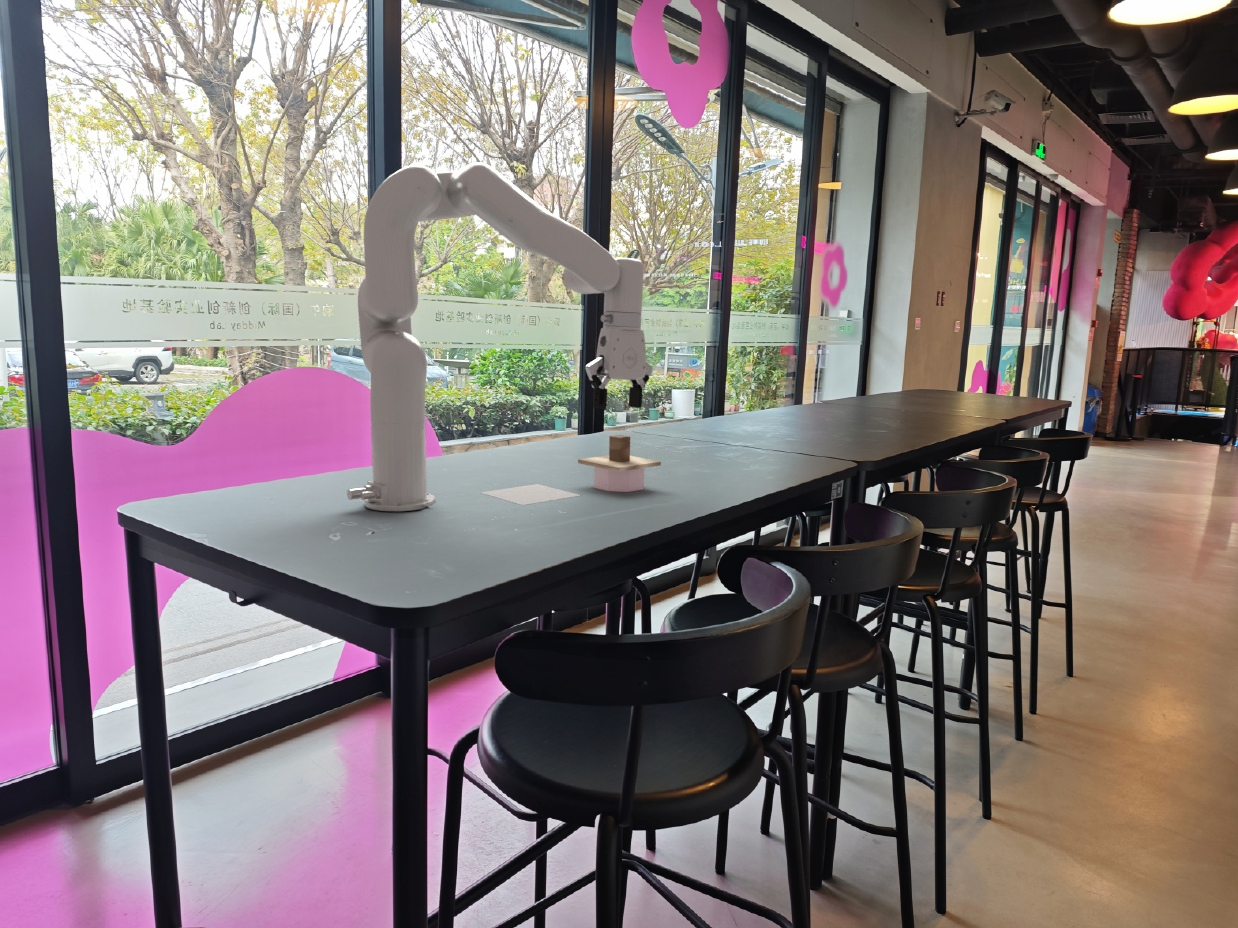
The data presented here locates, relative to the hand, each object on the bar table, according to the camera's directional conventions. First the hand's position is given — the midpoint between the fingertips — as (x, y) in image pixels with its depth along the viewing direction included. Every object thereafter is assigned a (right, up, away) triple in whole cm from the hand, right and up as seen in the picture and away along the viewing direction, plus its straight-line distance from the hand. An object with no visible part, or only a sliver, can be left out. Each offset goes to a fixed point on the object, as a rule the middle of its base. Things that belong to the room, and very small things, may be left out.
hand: (617, 407), depth 169 cm
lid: (0, -11, +2) cm, 12 cm away
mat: (-17, -18, -6) cm, 25 cm away
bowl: (0, -16, +3) cm, 17 cm away
